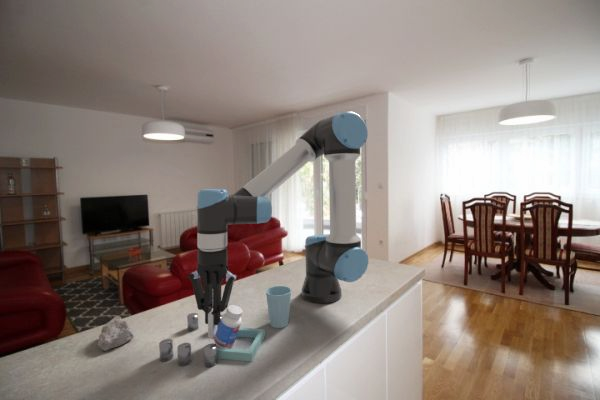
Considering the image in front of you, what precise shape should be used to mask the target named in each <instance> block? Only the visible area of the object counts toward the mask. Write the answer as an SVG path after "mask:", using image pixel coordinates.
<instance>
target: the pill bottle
mask: <svg viewBox="0 0 600 400" xmlns="http://www.w3.org/2000/svg"><path fill="white" fill-rule="evenodd" d="M221 315H222V317H221V320H220V323H219V326H218V329H217V331H216V334H215V336H214V338H213V342H214V343H213V344H216V345H217V348H228V349H231V348H232V346H233V345H234V343H235V341H236V338H237V337H236V336H237V333H238V330H239V328H241V326H242V321H243V320H242V318H241V317H242V315H243V308H241V307H240V306H238V305H237V304H235V305H234V304H232V305H228V307H227V308H226V312H224V313H223V314H221Z"/></svg>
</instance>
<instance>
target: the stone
mask: <svg viewBox="0 0 600 400" xmlns="http://www.w3.org/2000/svg"><path fill="white" fill-rule="evenodd" d="M134 336H135V335H134V334H133V332H132V330H131V328H130V326H129V325H128V322H127V320H122V317H121V316H119V315H116V316H114V317H113V318H112V319H111V320H109V321H108V322H107V323H106V324H104V325H103V326H102V328H101V333H100V334H98V342H97V346H98V347H99V348H100V350H102V351H104V352H106V351H109V350H111V349H113V348H117V347H120V346H122V345H124V344H125V343H128V342H130V341H131V340H132V339H134Z"/></svg>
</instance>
